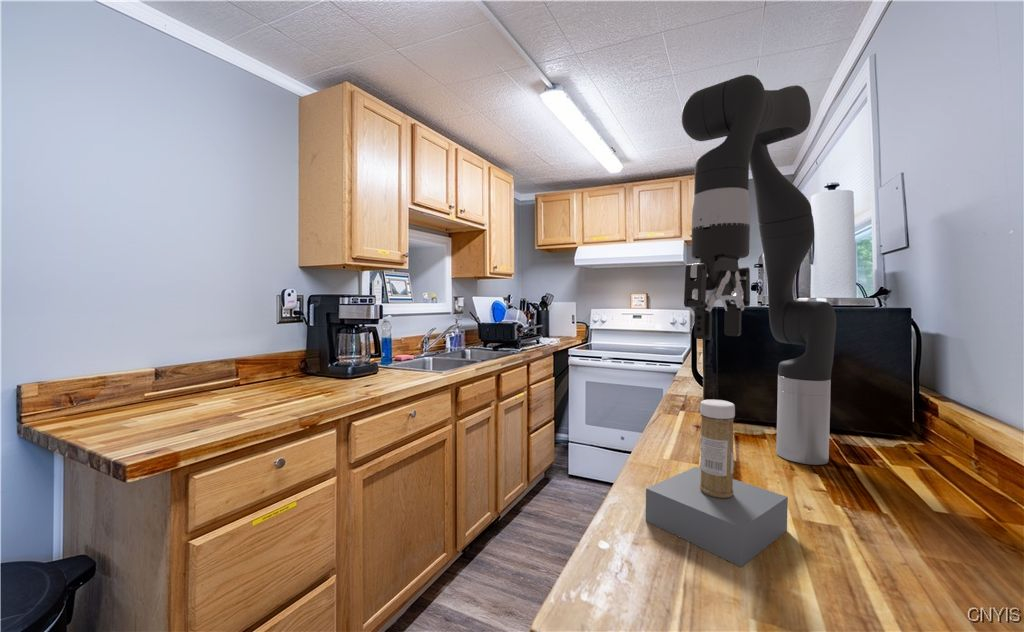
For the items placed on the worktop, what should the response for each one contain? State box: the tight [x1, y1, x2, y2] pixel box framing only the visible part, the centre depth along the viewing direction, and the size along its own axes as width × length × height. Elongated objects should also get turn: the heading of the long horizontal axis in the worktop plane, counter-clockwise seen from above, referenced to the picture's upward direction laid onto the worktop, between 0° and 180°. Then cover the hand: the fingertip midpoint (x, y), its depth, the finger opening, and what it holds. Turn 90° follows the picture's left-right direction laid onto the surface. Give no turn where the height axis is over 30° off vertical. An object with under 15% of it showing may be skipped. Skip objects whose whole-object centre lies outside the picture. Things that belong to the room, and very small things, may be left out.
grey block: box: [645, 466, 789, 568], centre depth 63 cm, size 14×14×5 cm
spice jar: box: [699, 399, 736, 498], centre depth 62 cm, size 5×5×13 cm
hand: (718, 337), depth 62 cm, fingers open, 8 cm apart
